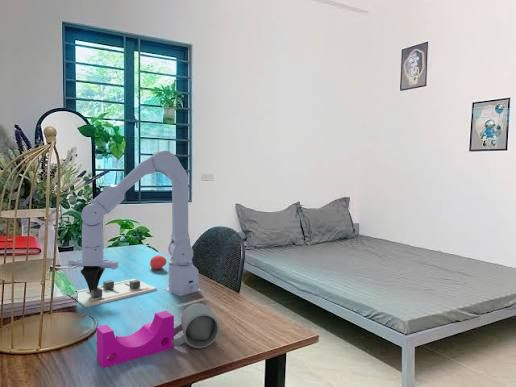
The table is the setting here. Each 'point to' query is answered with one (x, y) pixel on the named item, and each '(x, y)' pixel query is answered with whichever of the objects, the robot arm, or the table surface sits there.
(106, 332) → the toy block
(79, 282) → the table surface
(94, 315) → the table surface
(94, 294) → the tab
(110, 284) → the tab
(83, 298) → the switch panel
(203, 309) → the ceramic mug
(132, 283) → the tab
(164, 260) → the stress ball
